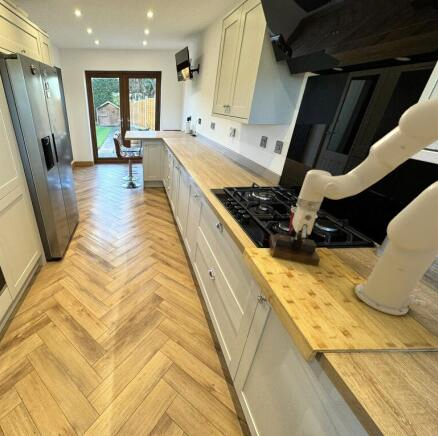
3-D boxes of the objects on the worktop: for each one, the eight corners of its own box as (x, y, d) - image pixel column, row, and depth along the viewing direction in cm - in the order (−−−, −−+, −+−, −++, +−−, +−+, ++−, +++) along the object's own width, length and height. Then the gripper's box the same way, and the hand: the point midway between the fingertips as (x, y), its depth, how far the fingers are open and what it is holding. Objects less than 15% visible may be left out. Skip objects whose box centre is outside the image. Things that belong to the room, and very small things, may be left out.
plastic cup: (312, 242, 106) (321, 218, 101) (285, 237, 109) (293, 214, 104) (305, 231, 115) (314, 209, 110) (281, 227, 118) (288, 205, 113)
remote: (311, 246, 97) (313, 239, 96) (314, 252, 93) (316, 246, 92) (273, 239, 101) (275, 233, 100) (275, 245, 97) (277, 238, 96)
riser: (308, 247, 102) (311, 241, 101) (317, 266, 90) (320, 259, 89) (268, 240, 107) (270, 234, 105) (272, 256, 95) (274, 250, 93)
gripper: (327, 213, 80) (309, 257, 88) (314, 197, 95) (299, 236, 103) (302, 210, 82) (287, 252, 90) (293, 194, 97) (280, 232, 105)
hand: (293, 243), depth 97 cm, fingers open, 5 cm apart
